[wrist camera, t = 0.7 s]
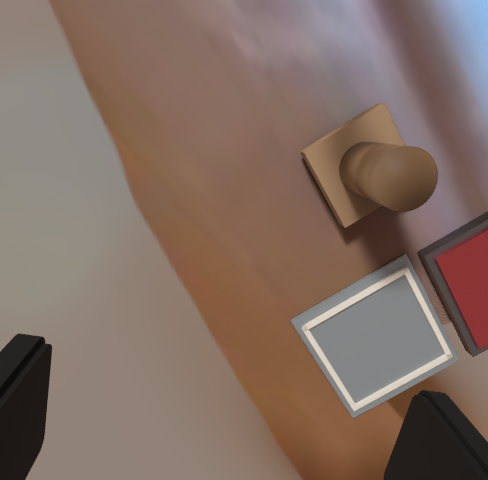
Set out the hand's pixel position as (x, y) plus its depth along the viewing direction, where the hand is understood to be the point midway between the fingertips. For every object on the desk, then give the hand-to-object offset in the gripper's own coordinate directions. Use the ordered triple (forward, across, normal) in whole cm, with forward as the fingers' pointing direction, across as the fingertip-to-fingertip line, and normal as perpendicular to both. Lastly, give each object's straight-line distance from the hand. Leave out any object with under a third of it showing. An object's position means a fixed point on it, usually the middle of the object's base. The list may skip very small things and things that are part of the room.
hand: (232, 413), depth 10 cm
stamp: (+25, -10, -6) cm, 27 cm away
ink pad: (+25, -26, +2) cm, 36 cm away
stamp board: (+25, -17, +10) cm, 31 cm away
